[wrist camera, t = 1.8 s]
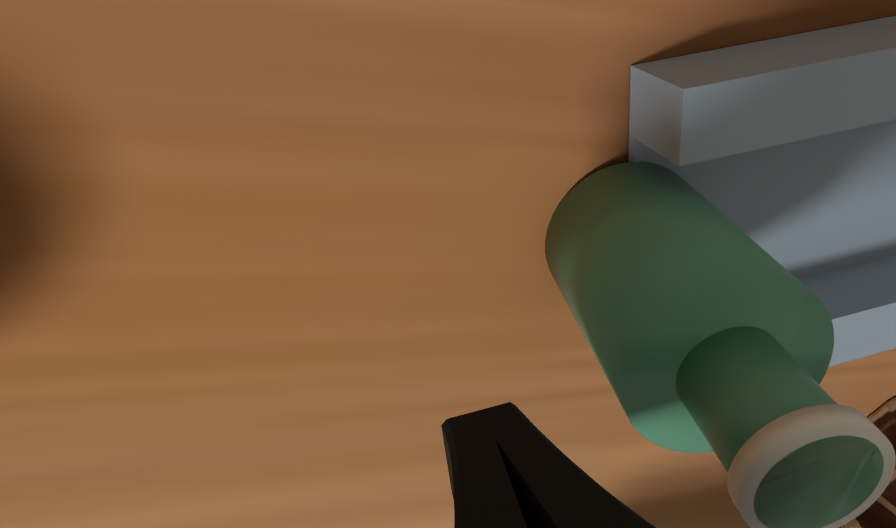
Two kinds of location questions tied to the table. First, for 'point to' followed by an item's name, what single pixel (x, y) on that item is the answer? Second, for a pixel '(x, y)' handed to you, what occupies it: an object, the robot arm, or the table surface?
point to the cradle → (792, 159)
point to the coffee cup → (892, 515)
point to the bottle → (714, 346)
